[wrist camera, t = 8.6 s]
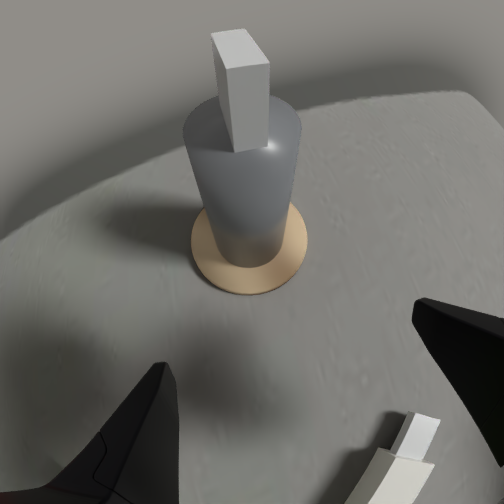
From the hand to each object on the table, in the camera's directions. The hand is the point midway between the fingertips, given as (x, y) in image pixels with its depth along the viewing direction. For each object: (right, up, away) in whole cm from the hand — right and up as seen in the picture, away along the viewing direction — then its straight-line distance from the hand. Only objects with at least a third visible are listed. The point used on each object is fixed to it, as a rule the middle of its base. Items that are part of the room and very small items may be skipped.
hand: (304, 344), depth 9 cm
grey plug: (-2, +4, +11) cm, 12 cm away
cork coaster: (-2, +4, +11) cm, 12 cm away
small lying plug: (+7, -12, +4) cm, 15 cm away
